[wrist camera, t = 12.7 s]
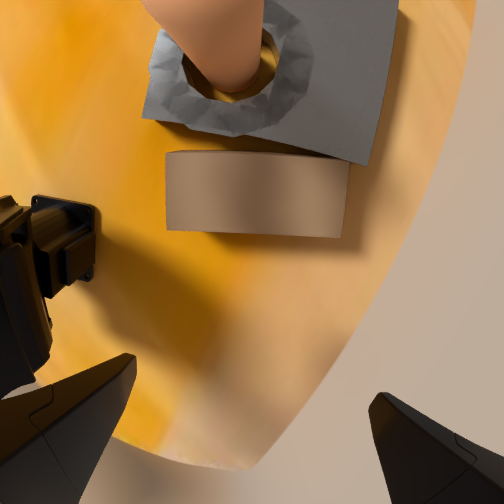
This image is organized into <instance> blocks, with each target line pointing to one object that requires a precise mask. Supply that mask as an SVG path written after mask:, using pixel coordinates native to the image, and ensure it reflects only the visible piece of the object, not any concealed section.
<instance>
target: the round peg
mask: <svg viewBox="0 0 504 504" xmlns="http://www.w3.org/2000/svg"><path fill="white" fill-rule="evenodd" d="M141 1H142V4H143V6H144V7H145V9H146V10H147V11H148V12H149V13H150V15H151V16H152V17H153V18H154V19H155V20H156V21H157V22H158V23H159V24H160V25H161V27H162V28H163V29H164V30H165V31H166V32H167V33H168V34H169V36H170V37H171V38H172V39H173V40H174V41H175V42H176V43H177V45H178V46H179V47H180V48H181V49H182V50H183V52H184V53H185V54H186V55H187V56H188V57H189V59H190V60H191V61H192V62H193V63H194V64H195V66H196V67H197V68H198V69H199V70H200V72H201V73H202V74H203V75H204V76H205V78H206V79H207V80H208V81H209V83H210V84H211V85H212V86H213V87H215V88H216V89H218V90H220V91H223V92H239V91H242V90H244V89H246V88H248V87H249V86H250V85H252V84H253V82H254V81H255V80H256V78H257V76H258V73H259V66H260V52H261V38H262V24H263V10H264V0H141Z"/></svg>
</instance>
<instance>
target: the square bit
mask: <svg viewBox="0 0 504 504" xmlns="http://www.w3.org/2000/svg"><path fill="white" fill-rule="evenodd" d="M349 164H350V162H348V161H344V160H340V159H336V158H332V157H324V156H314V155H302V154H290V153H275V152H257V151H232V150H180V151H174V152H169V153H166V163H165V174H166V223H167V230H174V231H202V232H227V233H250V234H271V235H291V236H310V237H328V238H341V234H342V227H343V219H344V211H345V203H346V194H347V185H348V175H349Z"/></svg>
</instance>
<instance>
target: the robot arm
mask: <svg viewBox="0 0 504 504" xmlns="http://www.w3.org/2000/svg"><path fill="white" fill-rule="evenodd" d="M36 199H37V202H36ZM87 209H89V211H90V213H88V212H87ZM94 215H95V209H94V207H93V206H92V205H91V204H86V203H81V202H76V201H70V200H65V199H60V198H54V197H49V196H44V195H34V196H33V197H32V200H31V207H28V206H18V203H16V202H15V200H14V199H13V198H12V196H11V195H5V196H2V197H0V504H79V501H80V498H81V496H82V494H83V492H84V490H85V488H86V485H87V484H88V481H89V479H90V477H91V475H92V473H93V471H94V469H95V467H96V465H97V463H98V461H99V459H100V457H101V455H102V453H103V451H104V448H105V447H106V445H107V443H108V441H109V439H110V437H111V435H112V433H113V431H114V429H115V427H116V425H117V423H118V421H119V419H120V417H121V416H122V414H123V412H124V409H125V407H126V404H127V401H128V399H129V396H130V393H131V390H132V387H133V385H134V382H135V379H136V375H137V360H136V356H135V355H132V354H129V353H123V354H121V355H119V356H117V357H114V358H112V359H110V360H108V361H105V362H103V363H101V364H98V365H96V366H94V367H91V368H89V369H87V370H84V371H82V372H80V373H77V374H75V375H72V376H70V377H68V378H65V379H63V380H60V381H58V382H56V383H53V385H52V384H50V385H47V386H45V387H42V388H40V389H37V390H34V391H31V392H28V393H25V394H22V395H18V396H14V397H11V398H7V399H3V400H1V399H2V398H3V397H4V396H5V395H7V394H8V393H10V392H11V391H12V390H15V389H16V388H18V387H20V386H23V385H27V384H30V383H34V382H35V381H36V378H35V376H34V373H35V372H36V371H37V370H39V369H40V368H41V367H42V366H43V365H44V364H45V363H46V362H47V360H48V359H49V358H50V353H49V351H50V349H51V345H52V341H53V339H52V333H51V329H52V326H53V324H52V321H51V318H49V314H48V310H47V307H46V303H45V298H44V297H46V298H49V299H52V298H53V297H54V296H55V295H56V294H57V293H58V292H59V291H60V290H61V289H63V288H64V287H65V286H70V285H71V284H72V283H74V282H75V281H76V280H77V279H78V280H82V281H85V282H89V281H91V280H92V278H93V264H94V263H95V233H94ZM86 274H87V275H88V276H89V277H87V276H86ZM368 412H369V418H370V423H371V429H372V434H373V439H374V443H375V446H376V450H377V453H378V456H379V460H380V463H381V467H382V470H383V473H384V477H385V480H386V484H387V488H388V491H389V495H390V498H391V502H392V504H504V457H503V456H501V455H499V454H496V453H494V452H492V451H490V450H487V449H485V448H483V447H481V446H479V445H477V444H475V443H473V442H471V441H469V440H467V439H465V438H464V437H462V436H460V435H458V434H456V433H453V432H452V431H451V430H449V429H447V428H446V427H444V426H442V425H440V424H439V423H437V422H435V421H434V420H432V419H430V418H429V417H427V416H425V415H424V414H422V413H420V412H419V411H417V410H416V409H414V408H412V407H411V406H409V405H407V404H406V403H404V402H402V401H401V400H399V399H397V398H396V397H395V396H393V395H391V394H390V393H388V392H380V393H378V394H377V395H376V397H375V399H374V400H373V401H372V403H371V404H370V406H369V410H368Z"/></svg>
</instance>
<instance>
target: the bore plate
mask: <svg viewBox="0 0 504 504" xmlns="http://www.w3.org/2000/svg"><path fill="white" fill-rule="evenodd" d="M398 4H399V0H264V10H263V24H262V38H261V40H262V41H264V42H265V43H266V44H267V45H269V46H270V48H271V51H272V53H273V56H274V59H275V61H276V64H277V67H276V71H275V76H274V79H273V80H272V81H271V82H270V83H269V84H268V85H267V86H266V87H265V88H264V89H263V90H262V91H261V92H260V93H259V94H258V95H256V96H253V97H249V98H246V99H243V100H239V101H236V102H233V103H230V102H224V101H218V100H212V99H206V98H205V97H204V96H203V95H201V94H200V93H199V92H198V91H196V89H195V86H194V83H193V80H192V77H191V74H190V68H191V64H192V61H191V60H190V59H189V57H188V56H187V55H186V54H185V53H184V52H183V50H182V49H181V48H180V47H179V46H178V45H177V43H176V42H175V41H174V40H173V39H172V38H171V37H170V36H169V34H168V33H167V32H166V31H165V30H164V29H163V28H162V29H161V30H160V31H159V32H158V35H157V39H156V42H155V46H154V49H153V53H152V56H151V60H150V64H149V68H148V69H149V72H150V76H151V78H150V82H149V86H148V90H147V95H146V99H145V104H144V109H143V113H142V118H144V119H151V120H159V121H166V122H174V123H181V124H185V125H186V126H187V127H188V128H189V129H191V130H197V131H203V132H208V133H214V134H220V135H225V136H230V137H239V136H243V135H248V136H253V137H258V138H262V139H267V140H271V141H275V142H279V143H284V144H288V145H292V146H296V147H299V148H303V149H307V150H311V151H315V152H318V153H322V154H325V155H329V156H332V157H336V158H339V159H342V160H346V161H349V162H352V163H355V164H359V165H362V166H366V167H367V166H368V162H369V158H370V154H371V150H372V146H373V142H374V138H375V134H376V129H377V125H378V121H379V116H380V112H381V107H382V102H383V98H384V93H385V88H386V82H387V77H388V72H389V66H390V60H391V54H392V48H393V42H394V35H395V28H396V21H397V13H398Z"/></svg>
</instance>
